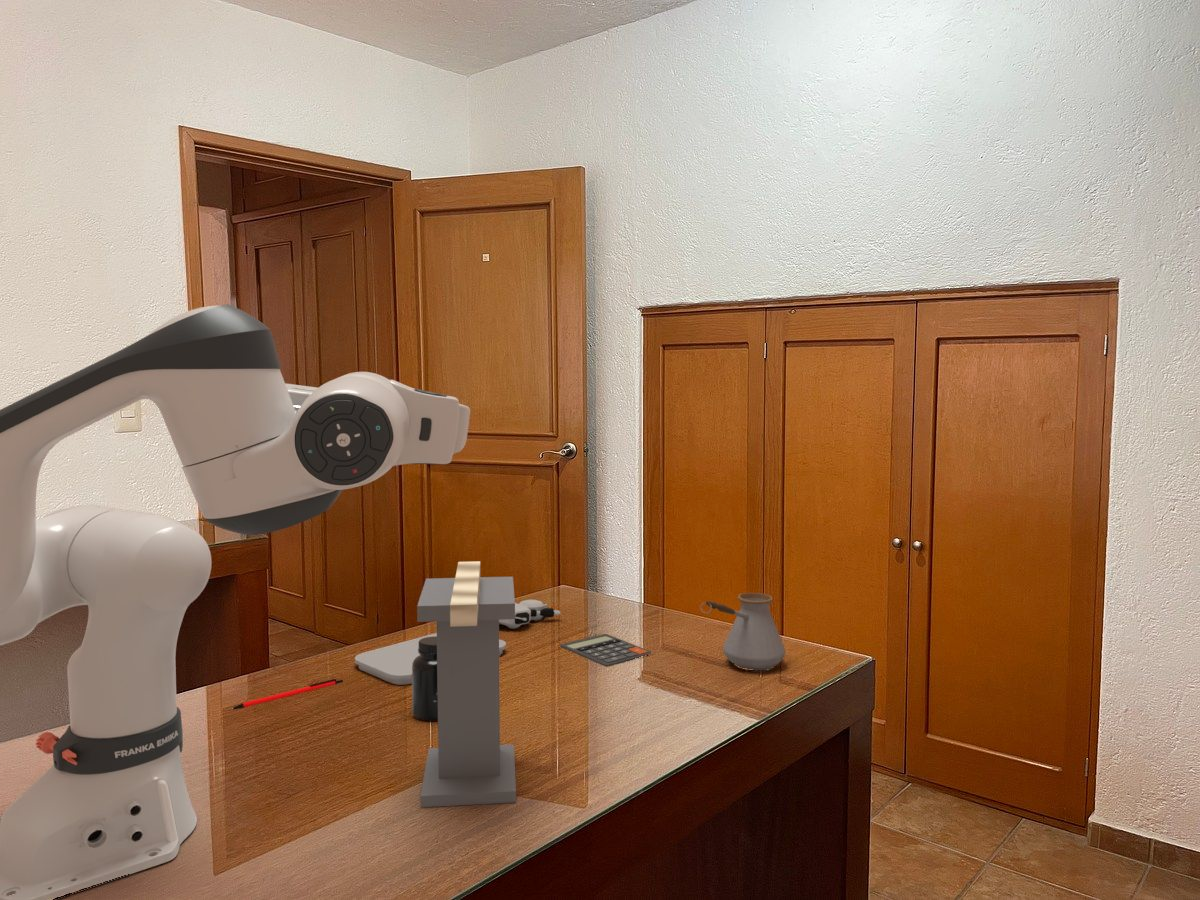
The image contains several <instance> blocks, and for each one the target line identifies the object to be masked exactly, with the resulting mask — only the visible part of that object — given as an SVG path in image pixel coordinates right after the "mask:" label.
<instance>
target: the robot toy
mask: <svg viewBox="0 0 1200 900" xmlns="http://www.w3.org/2000/svg"><path fill="white" fill-rule="evenodd" d="M554 615H555V616H560V615H561V611H560V610H557V609H555V610H554V608H553V607H548V604H547V603H546V602H545V603H543V601H540V600H537V599H526V600H522V601H520V602H519V603H517V602H515V619H502V620H499V625H503V626H506V627H507V628H509V629H512V630H515V629H516V630H517V629H518V628H520V627H521V626H522V625H527V624H529V623H530V622H531V621H535V622H536V621H537V622H538V621H541V620H542V619H543V618H554Z"/></svg>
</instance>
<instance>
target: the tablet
mask: <svg viewBox="0 0 1200 900" xmlns="http://www.w3.org/2000/svg"><path fill="white" fill-rule="evenodd" d="M433 636H437V632H435V633H431V634H427V635H424V636H419V637H416V638H412V639H408V640H405V641H401V642H398V643H394V644H391V645H387V646H382V647H379V648H376V649H372V650H369V651H365V652H362V653H359V654H357V655H355V657H354V663H355V664H356V665H358V669H359V670H360V671H363V672H364V673H367V674H370V675H372V676H373V677H377V678H379V679H381V680H384V681H385V682H388V683H390V684H393V685H398V686H399V685H400V686H401V685H404V686H406V685H410V684H411V685H412V663H413V661H414V659H415V658H416V657H417V656H419V655H420V654H419V653H418V648H419V640H421V639H422V638H426V637H433ZM506 648H507V642H506V641H505V640H503V639H500V638H499V657H500V656H502V655H503V652H504V651H503V650H505V649H506ZM501 654H502V655H501Z"/></svg>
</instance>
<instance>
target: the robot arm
mask: <svg viewBox="0 0 1200 900" xmlns="http://www.w3.org/2000/svg"><path fill="white" fill-rule="evenodd" d="M273 337H274V336H273V334H272V330H271V329H270V328H269V327H268V326H266V325H265V324H264V323H263V322H261V321H260V320H258V319H257V318H256V317H254V316H253V315H252V314H249V313H247V312H246V311H244V310H242V309H239V308H238V307H236V306H233V305H230V304H220V305H208V306H203V307H202V306H201V307H196V308H193V309H190V310H187V311H185V312H183V313H180V314H178V315H176V316H174V317H172V318H171V319H169V320H168V321H165V322H164V323H162V324H160V325H159V326H158V327H157V328H155V329H154V330H153V331H151V332H150V333H148V334H147V335H146V336H144V337H143V338H141V339H139V340H137V341H136V342H133V343H131V344H130V345H128V346H126V347H125V348H122V349H120V350H118V351H117V352H115V353H112V354H110V355H108V356H107V357H105V358H102V359H100V360H98V361H96V362H94V363H92V364H91V365H88V366H86V367H84V368H82V369H80V370H78V371H76V372H74V373H72V374H70V375H68V376H66V377H64V378H62V379H60V380H57V381H56V382H53V383H52V384H49V385H46V386H45V387H43V388H41V389H39V390H37V391H35V392H33V393H31V394H29V395H27V396H25V397H23V398H21V399H19V400H17V401H15V402H12V403H10V404H8V405H7V406H5V407H3V408H1V409H0V646H3V645H6V644H10V643H12V642H16V641H18V640H21V639H23V638H25V637H27V636H28V635H29V634H31V633H32V632H33V631H34V629H36V627H37V625H38V624H40V623H41V622H43V621H45V620H46V619H49V618H50V617H52V616H54V615H56V614H58V613H59V612H63V611H65V610H67V609H70V608H73V607H78V606H87V607H88V615H87V616H88V617H87V624H86V629H85V632H84V636H83V639H82V643H81V645H80V646H79V647H78V648H77V649H75V651H74V652H73V653H72V654H71V656H70V658H69V659H68V663H67V667H66V673H67V687H68V688H67V689H68V704H69V705H68V706H69V709H68V710H69V722H70V723H69V725H68V727H67V728H66V730H65V732H64V733H63V734H62V735H61V737H59V736H57V735H55V734H54V733H52V732H50V731H45V732H42V733H40V735H39V736H38V738H36V739H35V742H36V743H35V746H36V748H37V749H38V750H40V751H42V752H43V753H44V754H47V755H50V754H52V761H53V764H52V765H51V766H50V767H48V769H47V770H46V771H45V772H44V773H43V774H42V775H41V776H40V777H39V778H37V780H36V781H34V782H33V783H32V784H31V785H30V786H29V787H28V788H27V789H26V790H25V791H24V792H23V793H21V794H20V795H19V796H18V797H17V798H16V799H15V800H14V801H13V802H12V803H10V805H8V806H7V807H5V808H6V809H5V810H3V813H2V814H1V817H0V900H47V899H52V898H56V897H58V896H61V895H63V894H66V893H70V892H72V891H76V890H79V889H82V888H86V887H88V886H92V885H96V884H99V883H102V884H104V883H103V882H105V881H108V882H110V881H109V880H111V881H113V880H112V879H114V878H117V877H120V878H122V877H121V876H123V877H125V876H124V875H126V876H129V875H132V874H135V873H137V872H138V873H139V872H141V871H144V870H147V869H150V868H153V867H156V866H159V865H161V864H165V863H167V862H170V861H171V860H173V859H175V858H176V856H178V853H179V850H180V846H181V844H182V843H183V842H184V841H185V840H186V839H187V838H188V837H189V836H190V834H191V833H193V831H194V830H195V829H196V825H197V822H198V817H197V816H198V815H197V814H196V812H195V809H194V807H193V805H192V802H191V799H190V795H189V792H188V787H187V784H186V780H185V774H184V769H183V761H182V756H181V755H182V754H181V753H182V752H183V745H184V744H183V742H184V740H183V736H184V735H183V733H184V731H183V722H182V711H181V710H180V707H178V706H177V705H178V703H177V701H178V700H177V699H178V698H177V674H176V673H177V672H176V669H177V667H176V665H177V664H176V657H177V656H176V653H177V643H178V637H179V635H180V634H179V633H180V628H181V626H182V623H183V619H184V616H185V613H186V611H187V609H188V607H189V606H190V605H191V603H193V602H194V601H195V600H197V599H198V597H199V596H200V595H201V593H202V592H203V591H204V589H205V588H206V586H207V584H208V583H209V579H210V577H211V576H210V575H211V571H212V563H213V562H212V554H211V550H210V547H209V545H208V543H207V541H206V540H205V539H204V537H203V536H202V535H201V534H200V533H199V532H197V531H195V530H194V529H193V528H191V527H189V526H187V525H186V524H184V523H182V522H180V521H178V520H176V519H174V518H172V517H169V516H167V515H161V514H156V513H149V512H142V511H135V510H131V509H130V510H129V509H121V508H115V507H107V506H101V505H94V504H86V505H79V506H78V505H77V506H72V507H66V508H62V509H58V510H54V511H51V512H49V513H47V514H46V515H44V516H42V517H41V518H39V519H37V518H36V512H37V511H36V507H37V506H36V503H37V502H36V500H37V486H38V481H39V475H40V471H41V468H42V465H43V462H44V460H45V458H46V456H48V455H49V454H48V453H49V452H50V451H51V450H53V448H54V447H55V446H56V445H57V444H58V443H60V442H61V441H62V440H64V439H66V438H68V437H70V436H72V435H74V434H76V433H78V432H80V431H81V430H83V429H85V428H88V427H89V426H92V425H93V424H95V423H97V422H99V421H101V420H103V419H106V418H107V417H109V416H111V415H112V414H116V412H119V411H121V410H123V409H126V408H127V407H128V406H131V405H132V404H134V403H137V402H139V401H140V400H149V401H151V402H153V403H154V404H155V405H156V407H157V408H158V410H159V411H160V413H161V416H162V418H163V420H164V423H165V425H166V428H167V431H168V433H169V435H170V437H171V438H170V439H171V441H172V443H173V445H174V447H175V449H176V452H177V454H178V457H179V459H180V462H181V464H182V468H181V469H182V470H183V473H184V476H185V478H186V480H187V483H188V485H189V487H190V491H191V493H192V495H193V497H194V500H195V501H196V504H197V506H198V509H199V511H200V512H201V513H200V514H201V515H202V517H203V520H204V521H206V522H207V523H209V524H211V526H212V525H213V526H215V527H217V528H220V529H222V530H225V531H229V532H231V533H235V534H241V535H245V536H257V535H265V534H270V533H273V532H276V531H281V530H283V529H289V528H291V527H293V526H296V525H299V524H302V523H305V522H306V521H308V520H311V519H312V518H315V517H316V516H319V515H321V514H322V513H325V512H326V511H328V510H329V509H330V508H331V507H332V506H333V505H334V504H335V502H336V501H337V499H338V498H339V497H340V495H341V493H342V491H343V490H348V489H353V488H358V487H361V486H364V485H367V484H370V483H372V482H374V481H376V480H377V479H379V478H381V477H382V476H384V475H385V474H386V473H388V472H389V470H391V469H392V467H396V466H401V465H447V464H450V463H451V462H452V459H453V457H454V454H457V453H460V452H461V451H462V450H463V449H464V447H465V446H466V443H467V439H468V431H469V426H470V416H471V408H470V407H469V406H467V405H465V404H461V403H460V400H459V398H457V397H455V396H453V395H452V396H451V395H447V394H443V393H438V392H433V391H427V390H424V389H420V388H413V387H411V386H408V385H406V384H404V383H401V382H400V381H397V380H395V379H389V378H387V377H385V376H383V375H381V374H378V373H374V372H370V371H356V372H349V373H347V374H344V375H341V376H339V377H336V378H334V379H332V380H331V379H330V380H329V381H327V382H325V383H324V384H322V385H320V386H319V387H315V386H310V385H309V386H307V385H299V384H293V383H286V381H285V380H284V376H283V375H282V371H281V369H282V366H281V362H280V359H279V355H278V351H277V347H276V344H275V340H274V338H273ZM128 874H129V875H128ZM117 879H118V878H117ZM114 880H115V879H114ZM105 883H106V882H105ZM99 885H100V884H99ZM96 886H97V885H96ZM12 894H14V895H12ZM9 895H11V896H9Z"/></svg>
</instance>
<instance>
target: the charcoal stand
mask: <svg viewBox="0 0 1200 900" xmlns="http://www.w3.org/2000/svg"><path fill="white" fill-rule="evenodd" d="M454 582H455V577H442V578H440V577H439V578H438V577H437V578H436V577H434V578H425V581H424V584H423V587H422V590H421V593H420V596H419V599H418V602H417V605H416V609H417V610H416V614H417V615H416V617H417V620H416V621H417V623H421V622H422V623H425V622H427V623H429V622H436V633H437V691H438V720H437V742H438V743H437V746H438V747H431V748H430V747H429V748H428V751H427V756H426V761H425V768H424V774H423V779H422V785H421V792H420V795H419V796H420V797H419V798H420V799H419V801H420V808H431V807H432V808H433V807H453V806H455V807H456V806H470V805H471V806H472V805H488V804H489V805H490V804H509V803H517V786H516V785H517V783H516V764H515V762H516V761H515V744H513V743H512V744H501V737H500V735H501V733H500V732H501V729H500V727H501V725H500V724H501V722H500V719H501V718H500V714H501V713H500V656H499V639H500V624H499V620H502V619H515V603H516V601H515V589H514V588H515V585H514V576H487V577H486V576H483V577H481V576H480V592H479V605H478V618H477V626H454V627H450V603H451V598H452V593H453V587H454Z"/></svg>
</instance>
